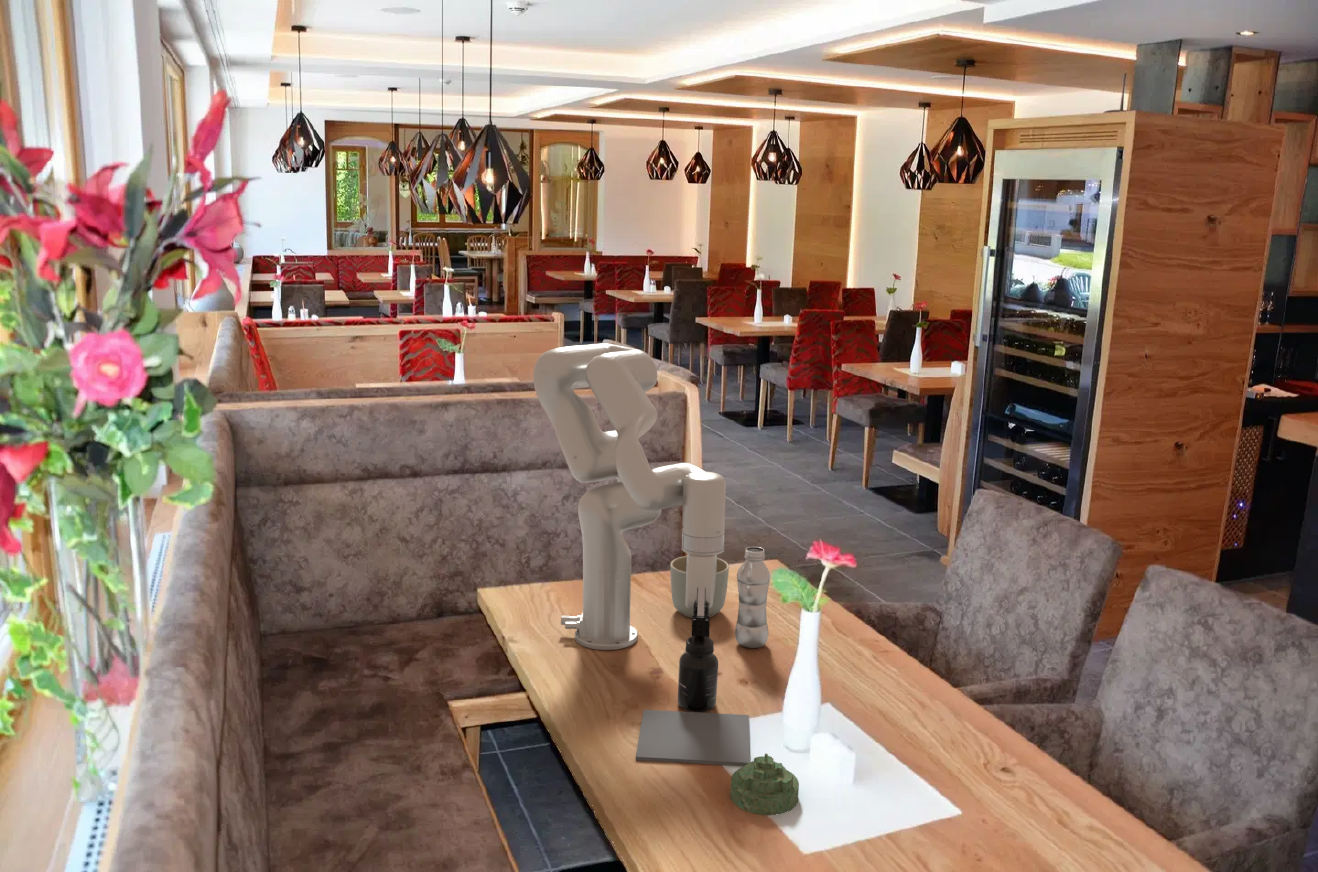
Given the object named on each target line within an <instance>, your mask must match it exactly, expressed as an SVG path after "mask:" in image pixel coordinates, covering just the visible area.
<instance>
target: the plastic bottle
mask: <svg viewBox="0 0 1318 872" xmlns="http://www.w3.org/2000/svg"><path fill="white" fill-rule="evenodd" d="M743 557H744V560H745V561H744V562H743V563H742V564H741V565H740V567H739V568H738V569H737V573H736V582H737V590H738V611H737V618H736V620H737V621H736V622H735V623H736V624H735V628H734V637H735V641H736V642H737V644H738V645H739V646H741V647H744V648H748V649H749V648H751V649H753V648H754V649H755V648H762V647H764V646H765V644H766V643H767V642H768V638H769V625H768V623H767V622H768V619H767V618H768V617H767V602H768V601H767V600H768V592H769V588H770V583H771V582H770V581H771V572H770V570H769V568H768V567H767V565H766V564H765V562H764V561H765V557H766V556H765V549H764V548H763V547H759V546H748V547H745V551H744V556H743Z"/></svg>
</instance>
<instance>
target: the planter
mask: <svg viewBox="0 0 1318 872" xmlns="http://www.w3.org/2000/svg"><path fill="white" fill-rule="evenodd" d="M686 565H687V555H684V556H680V557H677V558H674V559H673V560H672V561H671V562H670V568H669V569H670V575H669V576H670V589H671V590H670V591H671V599H672V604H673V607H674V608H675V610H677V612H679V613H680V614H681V615H683V616H685V617H687V618H691V619H692V616H693V606H692V607H689V608H687V607H686V606H685V601H686ZM729 568H730V567H729V563H728V562H727V561H726V560H723V559H722V558H720V557H717V566H716V582H715V592H714V599H713V606H712V608H710V609H709V614H708V616H709V617H710V618H711V617H714V616H715V615H717V614H718V613H720V612H721V611H722V609H723V607H724V605H725V602H726V597H727V592H728V582H729V574H730V573H729V571H730V569H729ZM705 616H706V615H705Z"/></svg>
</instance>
